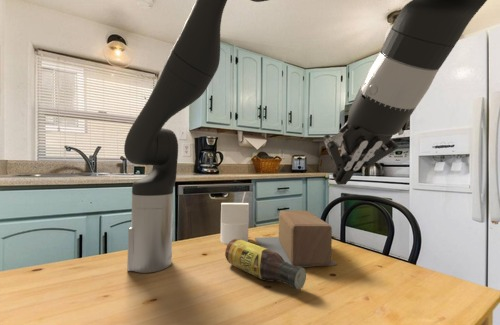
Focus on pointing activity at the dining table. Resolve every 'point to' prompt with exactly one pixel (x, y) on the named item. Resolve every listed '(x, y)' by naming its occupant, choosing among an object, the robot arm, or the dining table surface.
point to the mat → (280, 249)
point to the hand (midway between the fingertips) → (338, 181)
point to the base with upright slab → (234, 221)
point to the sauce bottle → (264, 263)
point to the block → (305, 238)
